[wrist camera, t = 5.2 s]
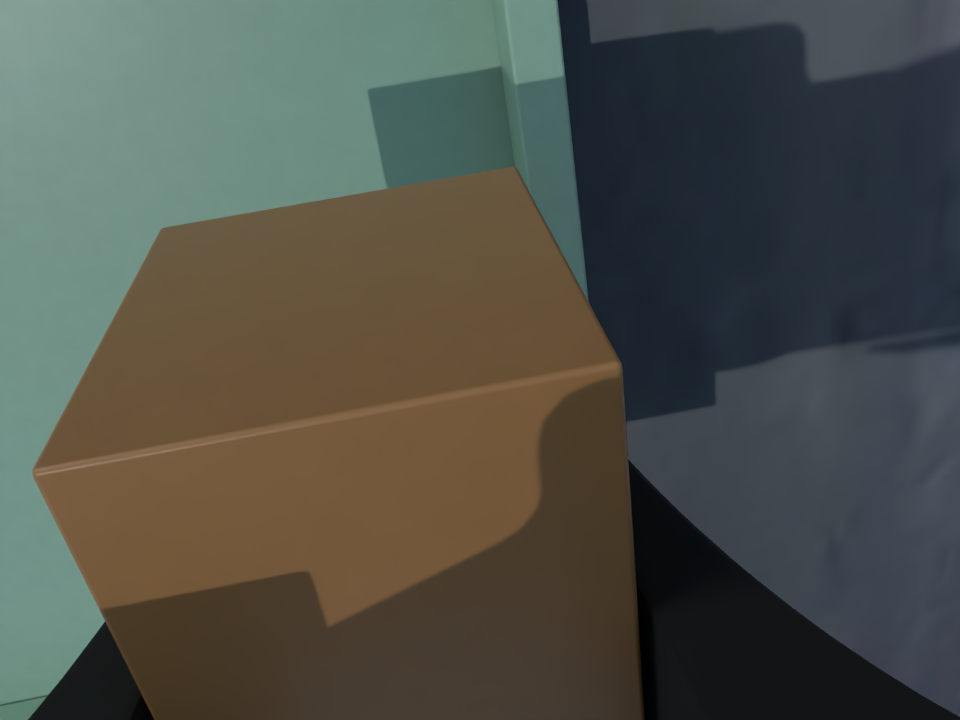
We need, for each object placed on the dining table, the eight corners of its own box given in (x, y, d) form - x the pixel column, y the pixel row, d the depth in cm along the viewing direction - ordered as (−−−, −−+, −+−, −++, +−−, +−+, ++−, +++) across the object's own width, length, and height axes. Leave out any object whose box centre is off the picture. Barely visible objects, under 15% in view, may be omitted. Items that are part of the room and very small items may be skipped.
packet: (516, 164, 10) (624, 362, 6) (575, 655, 14) (661, 965, 10) (159, 227, 10) (25, 473, 6) (324, 704, 14) (311, 1038, 10)
